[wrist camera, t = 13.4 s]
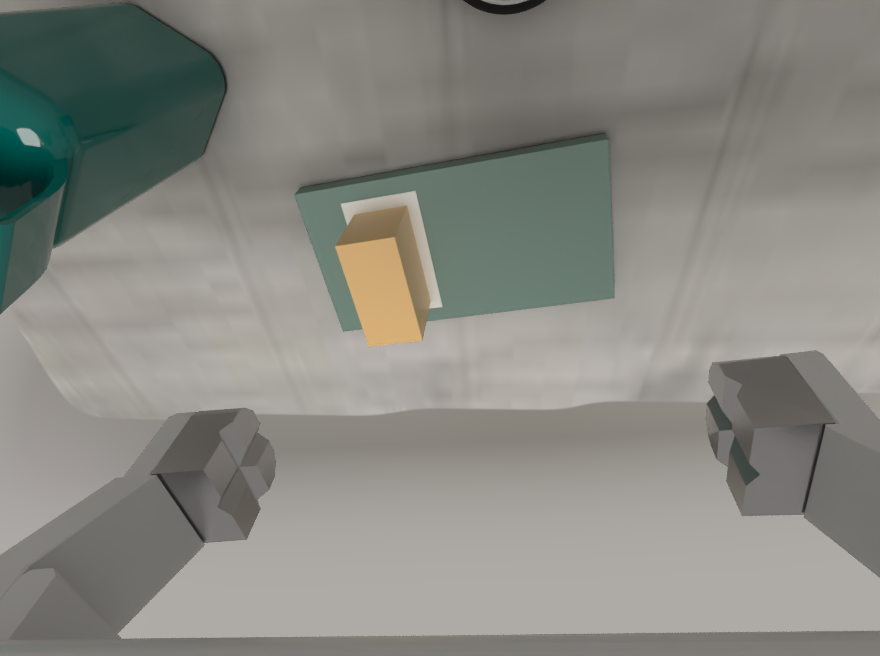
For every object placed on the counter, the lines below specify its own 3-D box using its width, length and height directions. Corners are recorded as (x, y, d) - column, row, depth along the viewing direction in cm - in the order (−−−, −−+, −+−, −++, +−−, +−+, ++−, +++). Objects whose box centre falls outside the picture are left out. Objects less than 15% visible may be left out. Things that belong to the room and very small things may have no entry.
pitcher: (86, 107, 39) (-288, 229, 20) (112, -13, 34) (-333, 6, 16) (215, 181, 41) (-17, 353, 22) (255, 78, 36) (7, 187, 18)
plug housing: (407, 205, 39) (394, 237, 34) (430, 301, 43) (422, 340, 38) (354, 214, 39) (335, 246, 35) (382, 307, 44) (368, 346, 39)
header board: (605, 133, 36) (617, 152, 32) (611, 288, 43) (622, 319, 39) (300, 187, 40) (279, 210, 37) (347, 321, 47) (333, 353, 43)
